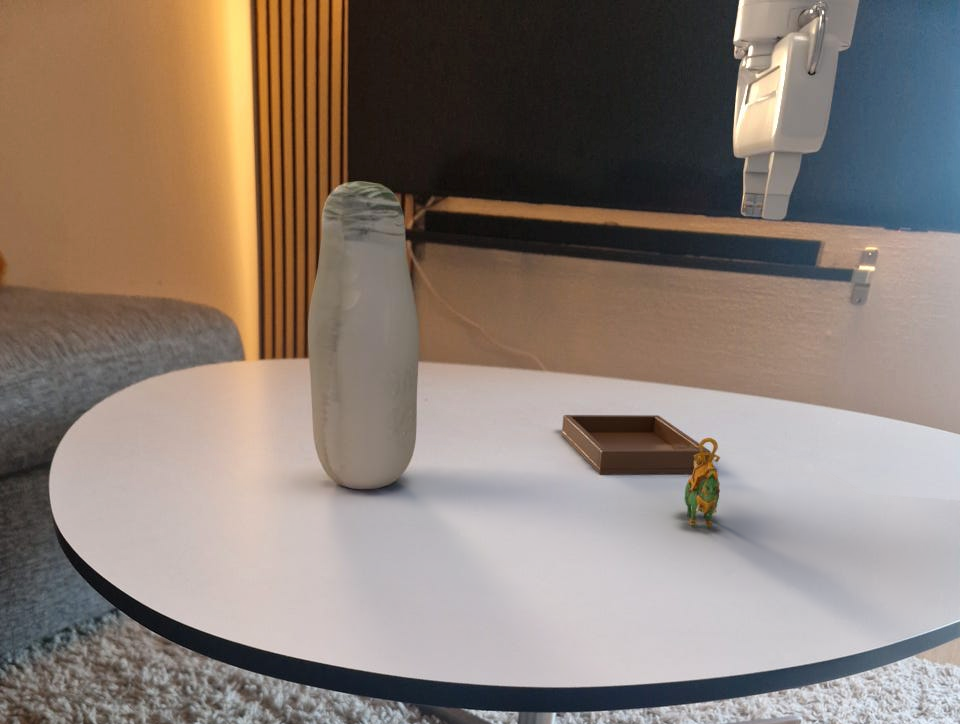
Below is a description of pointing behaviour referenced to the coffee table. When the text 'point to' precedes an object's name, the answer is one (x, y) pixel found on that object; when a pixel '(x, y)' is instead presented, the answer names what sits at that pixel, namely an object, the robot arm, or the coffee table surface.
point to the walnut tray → (631, 444)
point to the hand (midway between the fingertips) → (761, 218)
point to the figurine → (703, 485)
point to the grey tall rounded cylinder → (363, 340)
